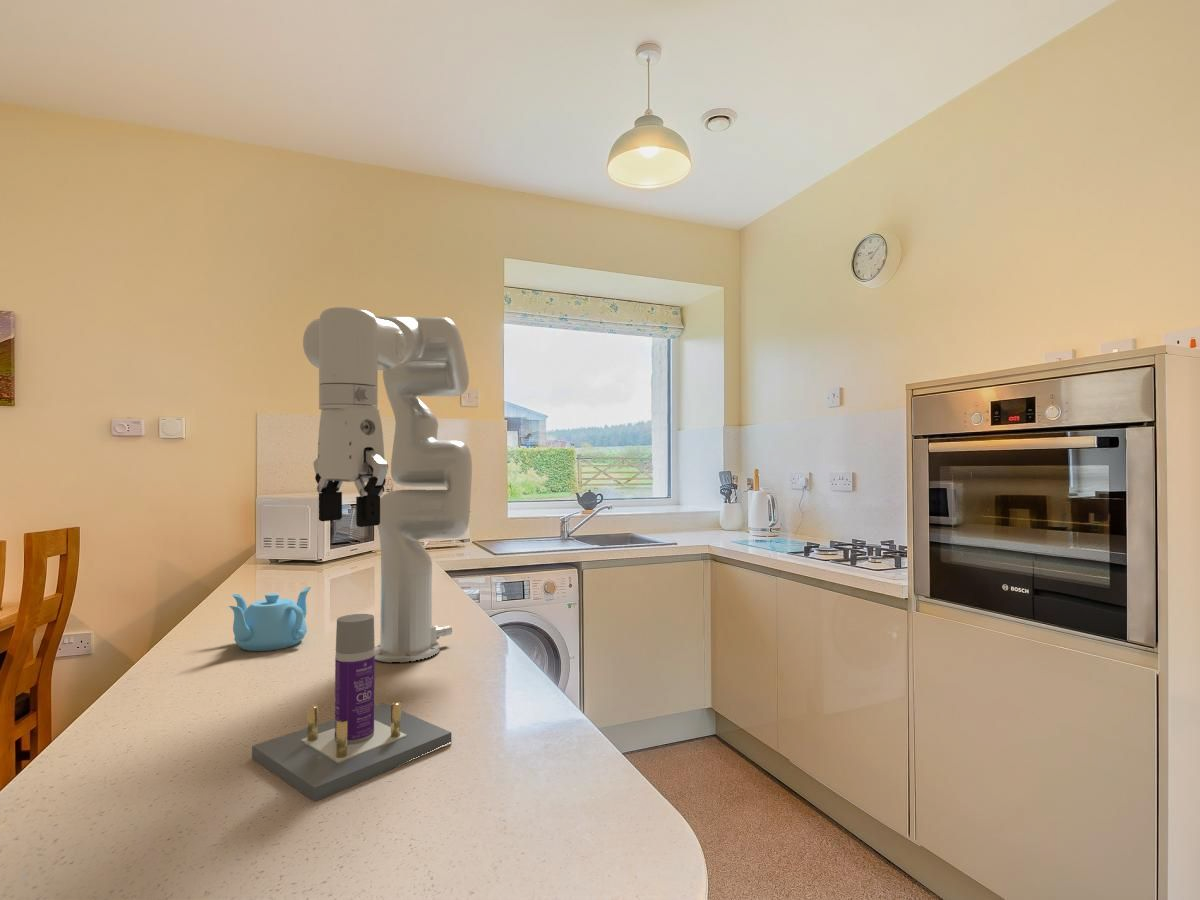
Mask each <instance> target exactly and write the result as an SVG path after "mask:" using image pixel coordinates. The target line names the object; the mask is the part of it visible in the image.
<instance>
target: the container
mask: <svg viewBox="0 0 1200 900" xmlns="http://www.w3.org/2000/svg"><path fill="white" fill-rule="evenodd" d="M375 646H376V645H375V616H374V615H373V614H371V613H354V614H353V613H352V614H347V615H342V616H340V617H338V618H337V619H336V632H335V656H334V657H335V658H334V659H335V661H334V662H335V663H334V665H335V667H334V668H335V669H334V676H335V677H334V681H335V682H334V686H335V687H334V697H335V698H334V719H335V741H336V732H337V721H339V720H347V721H348V724H347V744H357V743H361V742H364V741H366V740H369V739H370V738H372V737H373V735H374V706H375V684H376V682H375V678H376V677H375V675H376V674H375V673H376V672H375V669H376V668H375V666H376V665H375V664H376V662H375V661H376V660H375Z"/></svg>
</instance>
